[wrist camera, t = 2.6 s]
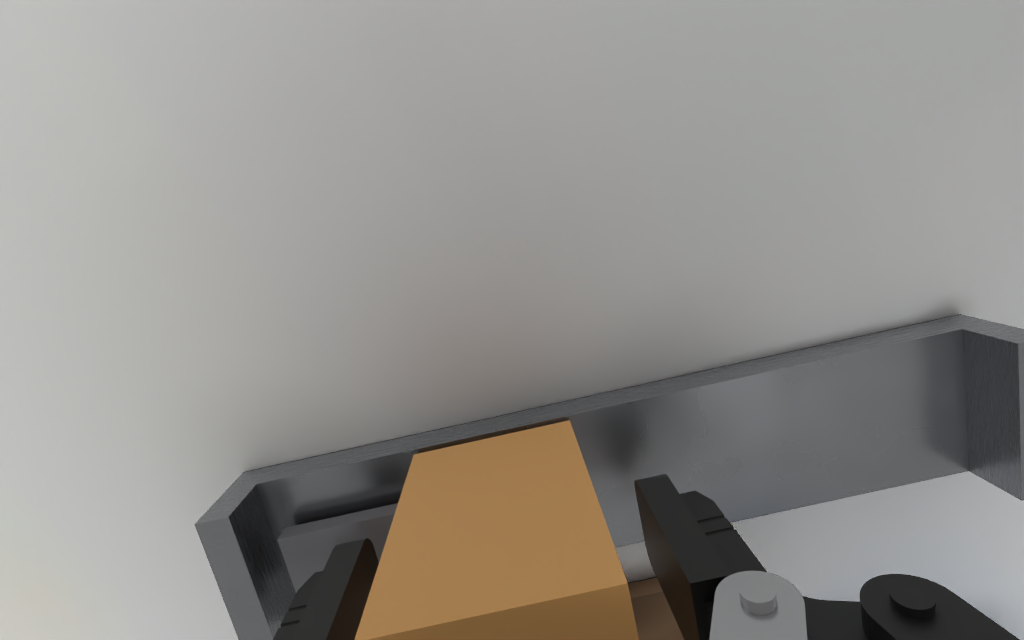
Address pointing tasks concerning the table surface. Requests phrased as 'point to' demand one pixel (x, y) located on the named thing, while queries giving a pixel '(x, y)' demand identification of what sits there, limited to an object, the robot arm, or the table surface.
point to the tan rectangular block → (484, 547)
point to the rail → (687, 445)
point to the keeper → (653, 612)
